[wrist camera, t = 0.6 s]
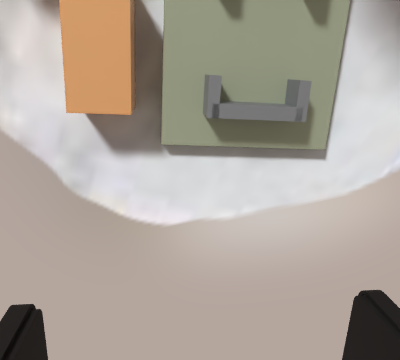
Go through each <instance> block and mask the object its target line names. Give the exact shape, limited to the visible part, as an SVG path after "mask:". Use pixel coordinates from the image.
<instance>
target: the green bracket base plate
mask: <svg viewBox="0 0 400 360" xmlns="http://www.w3.org/2000/svg"><path fill="white" fill-rule="evenodd" d="M349 5H350V0H164V36H163V80H162V125H161V144H165V145H196V146H228V147H259V148H290V149H322V150H325V148H326V142H327V136H328V130H329V124H330V118H331V112H332V106H333V100H334V94H335V88H336V82H337V77H338V71H339V65H340V59H341V53H342V47H343V41H344V35H345V29H346V23H347V17H348V11H349Z"/></svg>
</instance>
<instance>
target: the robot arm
mask: <svg viewBox="0 0 400 360" xmlns="http://www.w3.org/2000/svg"><path fill="white" fill-rule="evenodd" d="M0 360H48V356H47V348H46V340H45V332H44V323H43V315H42V311H41V310H40V309H36V308H35V306H34V305H33V304H23V305H11V306H10V307H9V309H8V310H7V312H6V313H5V315H4V316H3V318H2V320H1V321H0ZM342 360H400V308H399V307H398V306H397V305H396V304H395V303H394V302H393V301H392V300H391V299H390V298H389V297H388V296H387V295H386V294H385V293H384V292H382V291H381V290H367V291H366V290H365V291H361V292H360V293H359V295H358V296H356V297H355V298H354V301H353V307H352V311H351V317H350V322H349V327H348V332H347V337H346V343H345V347H344V353H343V358H342Z"/></svg>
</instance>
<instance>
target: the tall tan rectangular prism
mask: <svg viewBox="0 0 400 360" xmlns="http://www.w3.org/2000/svg"><path fill="white" fill-rule="evenodd" d="M59 5H60V20H61V36H62V51H63V66H64V81H65V96H66V111H67V113H92V114H121V115H132V113H133V111H134V110H135V12H134V0H59Z"/></svg>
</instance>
